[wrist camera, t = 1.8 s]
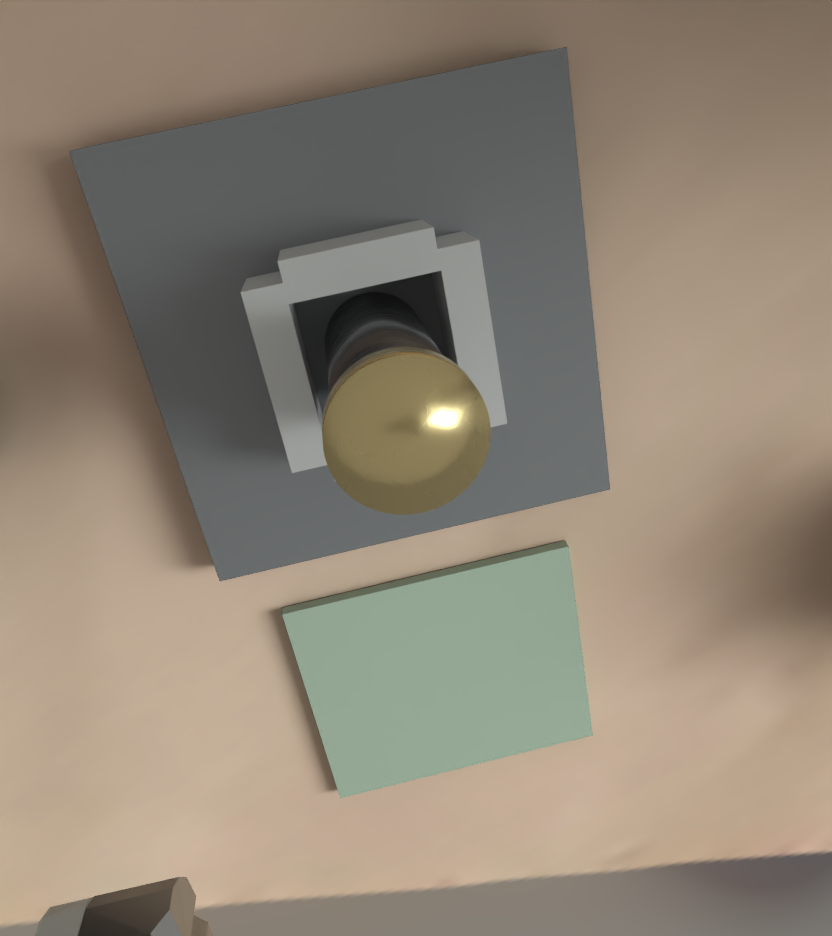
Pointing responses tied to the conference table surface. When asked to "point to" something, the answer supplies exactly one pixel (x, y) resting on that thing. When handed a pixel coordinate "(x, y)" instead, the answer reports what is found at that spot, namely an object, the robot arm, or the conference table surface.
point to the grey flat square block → (357, 292)
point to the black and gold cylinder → (398, 410)
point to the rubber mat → (444, 668)
